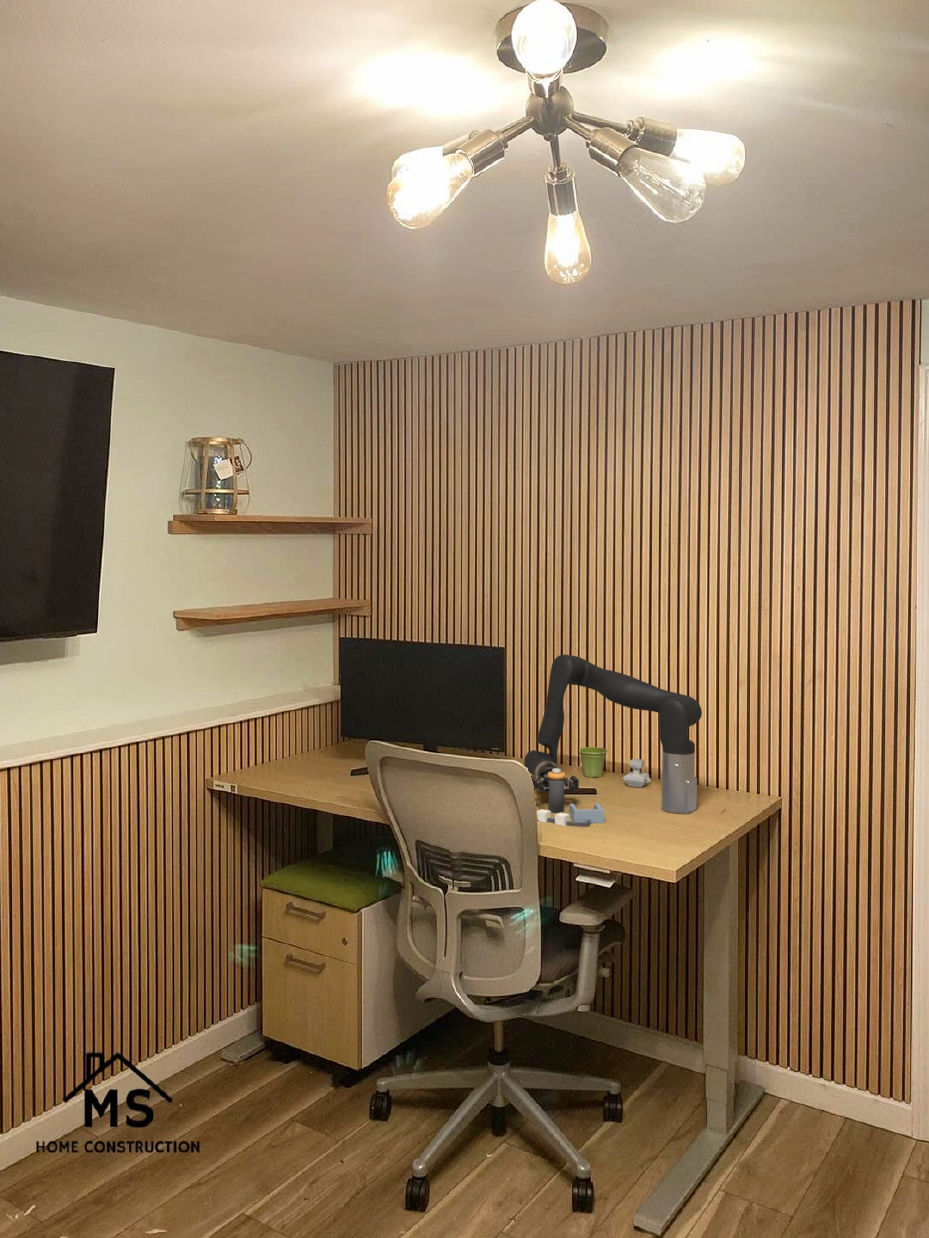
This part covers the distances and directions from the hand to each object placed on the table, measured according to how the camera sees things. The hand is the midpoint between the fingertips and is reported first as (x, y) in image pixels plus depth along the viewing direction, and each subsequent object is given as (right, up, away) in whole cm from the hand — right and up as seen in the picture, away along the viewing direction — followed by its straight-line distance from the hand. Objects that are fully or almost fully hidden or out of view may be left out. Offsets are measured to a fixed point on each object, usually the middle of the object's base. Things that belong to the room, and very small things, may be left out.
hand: (557, 788), depth 291 cm
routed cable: (+1, -8, -9) cm, 12 cm away
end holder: (+8, -8, -6) cm, 12 cm away
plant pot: (+16, -3, +45) cm, 48 cm away
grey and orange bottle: (0, -7, +2) cm, 7 cm away
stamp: (+28, -5, +31) cm, 42 cm away
